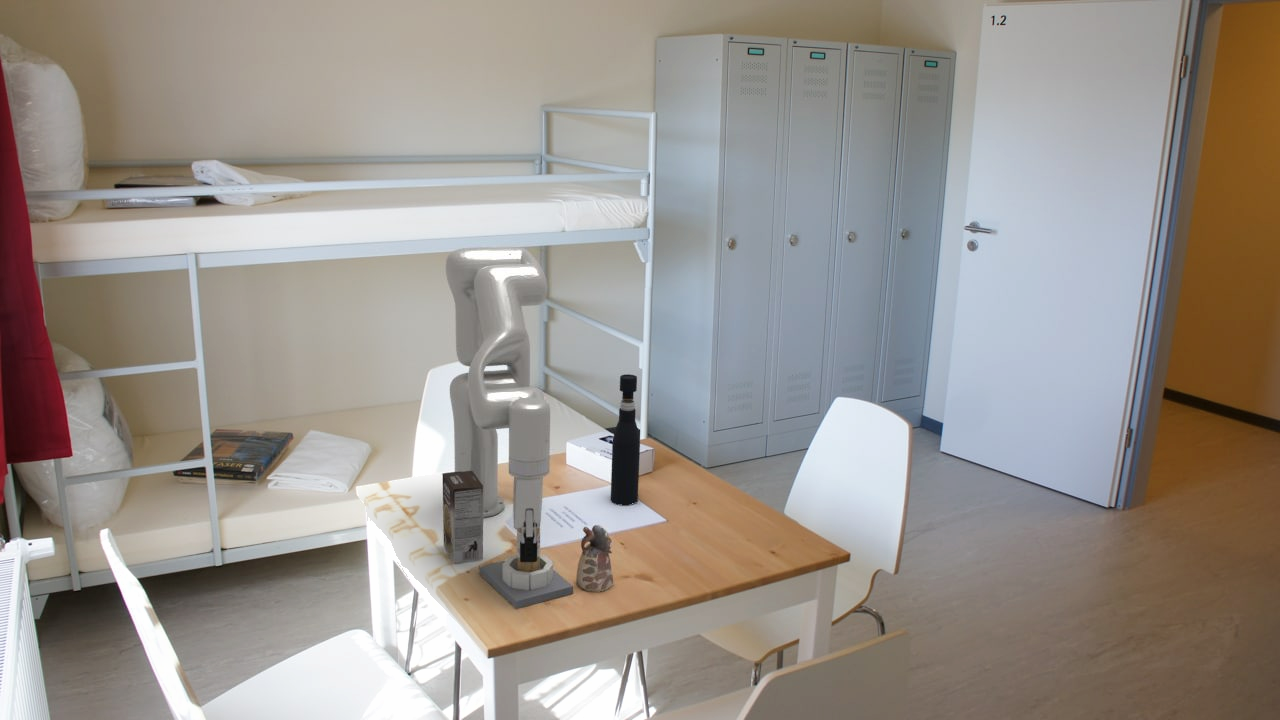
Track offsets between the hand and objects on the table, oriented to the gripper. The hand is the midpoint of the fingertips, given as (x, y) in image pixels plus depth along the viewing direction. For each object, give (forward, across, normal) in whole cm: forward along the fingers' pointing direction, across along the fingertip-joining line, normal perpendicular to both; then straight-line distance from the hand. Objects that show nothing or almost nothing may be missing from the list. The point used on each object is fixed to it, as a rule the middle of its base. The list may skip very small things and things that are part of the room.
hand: (528, 554), depth 190 cm
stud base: (+6, 0, 0) cm, 6 cm away
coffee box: (+7, -15, -13) cm, 21 cm away
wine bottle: (+7, -41, +24) cm, 48 cm away
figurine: (+7, 0, +13) cm, 15 cm away
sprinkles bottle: (+4, 0, 0) cm, 4 cm away
